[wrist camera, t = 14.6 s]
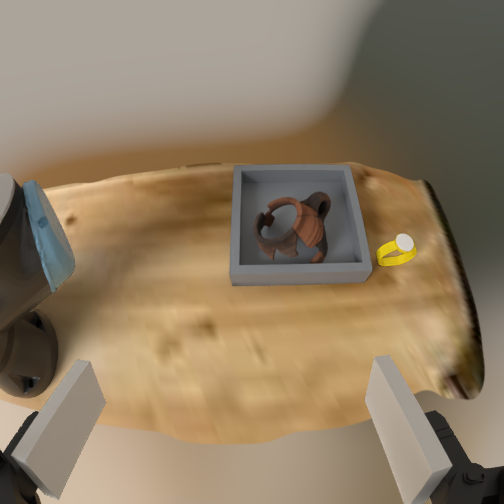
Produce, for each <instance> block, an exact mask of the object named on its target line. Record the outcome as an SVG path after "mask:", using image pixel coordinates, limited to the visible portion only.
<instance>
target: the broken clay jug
mask: <svg viewBox="0 0 504 504" xmlns="http://www.w3.org/2000/svg"><path fill="white" fill-rule="evenodd" d="M285 205H294V206H295V207H296V210H297V217H296V220H295V222H294V224H293V225H292V227H291V229H289V230H288V231H287V232H286V233H285V234H283V235H282V236H279V237H277V238H274V239H267V238H264V237H262V235H261V230H262V229H263V227H264V226H268V227H270V226H271V225H272V223H273V222H274V220H275V217H274V215H272V212H274V211H275V210H276V209H278V208H280V207H282V206H285ZM267 206H268V208H269V211H267V212H266V214H265V215H264V213H263V212H261V213H259V214H258V215H257V217H256V219H255V222H254V226H253V232H254V236H255V238H256V239H257V244H258V245H259V248H260V249H261V250H262V251H263V252H264V253H265V254H266V255H267V256H268V257H269V258H270V259H271V260H272V261H274V255H275V252H276V249H277V250H278V251H279V252H280V253H282V254H284V255H287V256H288V257H290V258H293V257H297V256H298V252H297V250H296V248H297V238H298V237H300V238H301V239H302V240H303V242H304V243H305V245H306V246H307V247H309V248H313V247H314V246H316V247H317V248H318V249H319V251H318V253H317V254H316V255H315V256H314V257H313V258H312V259H311V260H310V263H311V264H321V263H322V262H323V260H324V259H325V257H326V255H327V251H328V243H327V238H326V231H325V226H324V220H325V218H326V216H327V214H328V212H329V210H330V207H331V200H330V197H329V196H328V195H327V194H326V193H324V192H321V191H319V192H315V193H313V194H311V195H310V196H309V197H308V198H307V199H305V200H303V201H300V202H299V201H298V200H296V199H295V198H292V197H282V198H278V199H276V200H273V201H272V202H270V203H269V204H267Z"/></svg>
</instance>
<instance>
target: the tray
mask: <svg viewBox="0 0 504 504" xmlns="http://www.w3.org/2000/svg"><path fill="white" fill-rule="evenodd" d="M319 191H321V192H324V193H326V194H327V195H328V196H329V197H330V200H331V207H330V210H329V212H328V214H327V216H326V218H325V220H324V226H325V231H326V238H327V243H328V251H327V255H326V257H325V259H324V260H323V262H322V263H321V264H311V263H310V260H311V259H312V258H313V257H314V256H315V255H316V254H317V253H318V251H319V249H318V248H317V247H316V246H314V247H313V248H309V247H307V246H306V245H305V243H304V242H303V240H302V239H301V238H300V237H298V238H297V248H296V250H297V252H298V256H297V257H293V258H290V257H288V256H287V255H284V254H282V253H280V252H279V251H278V250H277V249H276V252H275V255H274V261H272V260H271V259H270V258H269V257H268V256H267V255H266V254H265V253H264V252H263V251H262V250H261V249H260V248H259V245H258V244H257V239H256V238H255V236H254V232H253V226H254V222H255V219H256V217H257V215H258V214H259V213H261V212H263V213H264V215H265V214H266V212H267V211H269V208H268V206H267V204H269V203H270V202H272V201H273V200H276V199H278V198H282V197H292V198H295V199H296V200H298V201H299V202H300V201H303V200H305V199H307V198H308V197H309V196H310V195H311V194H313V193H315V192H319ZM272 215H274V217H275V220H274V222H273V223H272V225H271V226H270V227H268V226H264V227H263V229H262V230H261V235H262V237H264V238H267V239H274V238H277V237H279V236H282V235H283V234H285V233H286V232H287V231H288V230H289V229H291V227H292V225H293V224H294V222H295V220H296V217H297V210H296V207H295V206H294V205H285V206H282V207H280V208H278V209H276V210H275V211H274V212H272ZM372 271H373V270H372V264H371V258H370V253H369V248H368V243H367V238H366V233H365V228H364V223H363V218H362V214H361V209H360V205H359V201H358V196H357V192H356V188H355V184H354V180H353V176H352V172H351V169H350V165H325V164H269V165H235V166H234V174H233V195H232V218H231V243H230V272H229V274H230V278H231V282H232V286H271V285H310V284H339V283H363V282H365V281H366V279H367V278H368V276H369V275H370V274H371V272H372Z"/></svg>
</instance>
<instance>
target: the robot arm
mask: <svg viewBox="0 0 504 504" xmlns="http://www.w3.org/2000/svg"><path fill="white" fill-rule="evenodd" d="M74 267H75V259H74V255H73V252H72V249H71V246H70V244H69V241H68V239H67V237H66V235H65V233H64V230H63V228H62V226H61V224H60V222H59V220H58V218H57V216H56V214H55V212H54V210H53V208H52V206H51V204H50V202H49V200H48V198H47V196H46V195H45V193H44V191H43V190H42V188H41V187H40V185H39V184H37V182H36V181H35V180H30V181H28V182H24V183H23V186H22V187H20V186H19V185H18V183H17V182H16V181H15V180H14V178H13V177H12V176H11V175H10V174H9V173H6V172H2V173H0V388H1V389H2V390H3V391H5V392H6V393H8V394H10V395H12V396H16V397H21V398H32V397H35V396H37V395H39V394H40V393H41V392H43V391H44V390H45V388H46V387H47V386H48V385H49V383H50V381H51V379H52V377H53V375H54V372H55V368H56V364H57V355H58V348H57V339H56V335H55V332H54V329H53V327H52V325H51V323H50V321H49V320H48V318H47V317H46V316H45V315H44V314H42V313H41V312H39V311H38V310H36V309H34V307H36V306H37V305H38V304H39V303H41V302H42V301H43V300H44V299H46V298H47V297H48V296H49V295H51V294H52V293H54V292H55V291H56V289H57V288H58V287H59V286H60V285H61V284H62V283H63V282H64V281H65V280H67V279H68V278H69V277H70V276H71V274H72V273H73V271H74ZM365 402H366V405H367V407H368V410H369V412H370V415H371V417H372V420H373V422H374V425H375V427H376V430H377V432H378V435H379V437H380V440H381V443H382V445H383V448H384V451H385V453H386V456H387V458H388V461H389V464H390V467H391V469H392V472H393V475H394V477H395V480H396V483H397V486H398V488H399V491H400V494H401V497H402V500H403V503H404V504H424V503H425V502H426V501H427V500H428V498H429V497H430V499H431V501H432V504H504V466H501V467H495V468H483V467H482V466H481V465H479V464H477V463H471V461H470V460H469V458H468V457H467V455H466V453H465V451H464V450H463V448H462V446H461V444H460V443H459V441H458V439H457V438H456V436H455V435H454V433H453V431H452V429H451V428H450V426H449V425H448V423H447V421H446V419H445V418H444V417H443V416H442V415H441V414H439V413H438V412H437V411H431V412H428V413H424V412H423V411H422V409H421V407H420V405H419V404H418V402H417V400H416V398H415V397H414V395H413V393H412V392H411V390H410V388H409V386H408V385H407V383H406V381H405V380H404V378H403V376H402V375H401V373H400V371H399V370H398V368H397V366H396V365H395V363H394V361H393V360H392V358H391V357H390V355H384V356H377V357H374V360H373V365H372V370H371V375H370V380H369V384H368V389H367V393H366V398H365ZM105 404H106V401H105V399H104V396H103V394H102V391H101V389H100V386H99V384H98V381H97V379H96V376H95V373H94V371H93V368H92V365H91V362H90V361H85V360H77V361H76V362H75V364H74V365H73V366H72V368H71V369H70V370H69V372H68V373H67V374H66V376H65V377H64V378H63V380H62V381H61V382H60V384H59V385H58V387H57V388H56V389H55V391H54V392H53V394H52V395H51V396H50V398H49V399H48V401H47V402H46V403H45V405H44V406H43V408H42V409H41V411H40V412H38V411H35V412H33V413H32V414H31V415H29V416H28V417H27V419H26V420H25V421H24V423H23V424H22V427H20V428H19V430H18V432H17V433H16V434H15V436H14V437H13V439H12V440H11V442H10V443H9V445H8V446H7V448H6V449H5V451H4V452H3V453H2V451H1V450H0V504H41V502H40V499H39V496H38V494H37V493H36V490H37V488H39V489H40V490H41V491H42V492H43V493H44V494H45V495H47V496H50V497H52V498H55V499H57V500H59V498H60V496H61V493H62V492H63V489H64V487H65V485H66V483H67V480H68V479H69V476H70V474H71V472H72V470H73V468H74V466H75V464H76V462H77V459H78V457H79V455H80V453H81V451H82V449H83V447H84V445H85V443H86V441H87V439H88V437H89V435H90V433H91V431H92V429H93V427H94V425H95V423H96V421H97V419H98V417H99V415H100V413H101V411H102V409H103V408H104V406H105Z"/></svg>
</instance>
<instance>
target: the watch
mask: <svg viewBox="0 0 504 504" xmlns="http://www.w3.org/2000/svg"><path fill="white" fill-rule="evenodd" d="M395 250H398V251H399V252H401V253H403V254H401V255H399V256H394V257H384V258H382V257H383V256H385V255H387V254H388V253H390V252H392V251H395ZM416 253H417V250H416V247H415V244H414V241H413V240H412V239H411V238H410V237H409V236H408V235H406V234H399V235H397V237H396V238H395V240H393V241H391V242H388V243H386V244H384V245H383V246H381V247H380V248H379V249H378V250H377V252H376V257H377V261H378V264H379V265H381V266H383V267H384V266H392V265H401V264H403V263H406V262H407V261H409V260H411V259H412V258H413V257H414V256H415V255H416Z"/></svg>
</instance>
